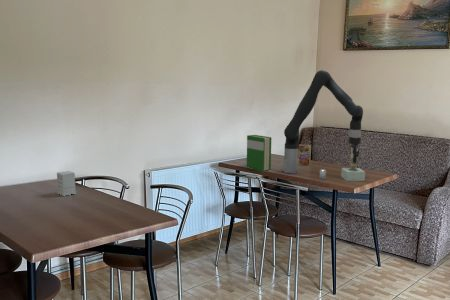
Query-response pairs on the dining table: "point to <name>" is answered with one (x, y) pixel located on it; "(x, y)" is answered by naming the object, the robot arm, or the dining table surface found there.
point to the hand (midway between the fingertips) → (353, 162)
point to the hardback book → (259, 152)
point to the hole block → (353, 174)
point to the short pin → (322, 174)
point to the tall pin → (352, 165)
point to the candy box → (304, 155)
